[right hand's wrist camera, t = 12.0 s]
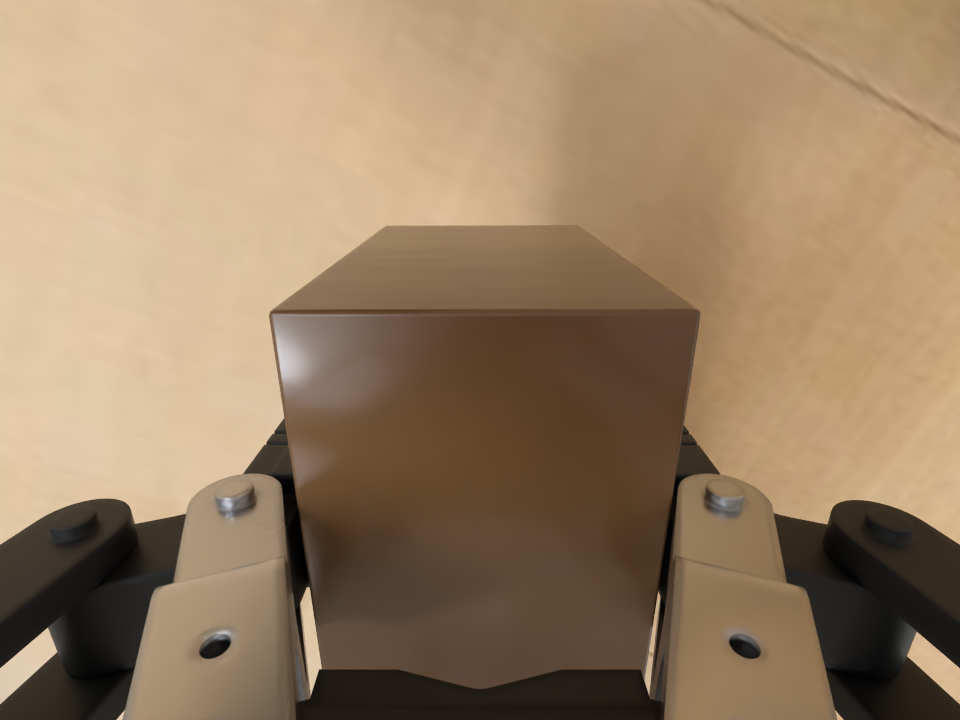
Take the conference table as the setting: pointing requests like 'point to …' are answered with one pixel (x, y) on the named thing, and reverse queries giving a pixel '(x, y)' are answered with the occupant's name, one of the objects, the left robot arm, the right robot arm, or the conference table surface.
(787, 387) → the conference table surface
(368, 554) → the bar
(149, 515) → the conference table surface
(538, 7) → the conference table surface
